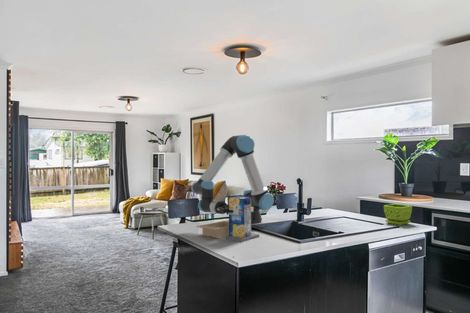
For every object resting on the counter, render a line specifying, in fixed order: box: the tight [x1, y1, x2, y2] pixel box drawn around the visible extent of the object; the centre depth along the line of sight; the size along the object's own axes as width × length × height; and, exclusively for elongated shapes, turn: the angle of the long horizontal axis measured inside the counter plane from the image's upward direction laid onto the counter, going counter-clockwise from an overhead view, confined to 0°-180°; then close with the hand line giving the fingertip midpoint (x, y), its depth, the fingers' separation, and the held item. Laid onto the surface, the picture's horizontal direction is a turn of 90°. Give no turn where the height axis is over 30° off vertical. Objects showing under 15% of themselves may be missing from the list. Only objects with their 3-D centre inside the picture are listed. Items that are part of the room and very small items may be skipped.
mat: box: [225, 232, 260, 243], centre depth 205 cm, size 16×12×2 cm
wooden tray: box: [196, 219, 229, 240], centre depth 215 cm, size 29×15×6 cm, turn 139°
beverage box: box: [228, 195, 252, 238], centre depth 204 cm, size 7×11×22 cm, turn 53°
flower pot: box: [383, 203, 413, 226], centre depth 248 cm, size 14×14×13 cm
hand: (245, 210), depth 203 cm, fingers open, 13 cm apart
